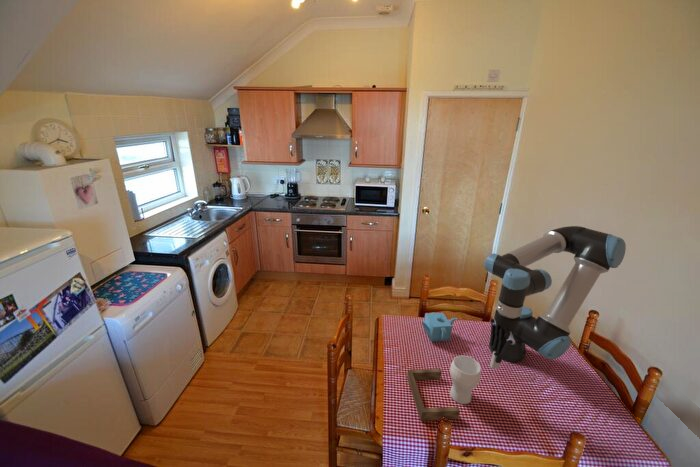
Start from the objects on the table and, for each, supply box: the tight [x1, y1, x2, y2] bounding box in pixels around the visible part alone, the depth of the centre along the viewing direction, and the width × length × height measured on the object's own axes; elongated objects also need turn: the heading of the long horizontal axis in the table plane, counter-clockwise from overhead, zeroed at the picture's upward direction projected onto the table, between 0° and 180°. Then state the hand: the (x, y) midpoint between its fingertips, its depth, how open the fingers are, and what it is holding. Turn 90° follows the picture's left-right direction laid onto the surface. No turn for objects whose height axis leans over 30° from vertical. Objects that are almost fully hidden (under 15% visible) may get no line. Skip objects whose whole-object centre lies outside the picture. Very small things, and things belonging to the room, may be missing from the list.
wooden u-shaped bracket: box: [406, 368, 461, 422], centre depth 113 cm, size 14×19×4 cm
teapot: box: [420, 312, 458, 343], centre depth 145 cm, size 16×18×11 cm
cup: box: [449, 354, 482, 405], centre depth 112 cm, size 11×11×15 cm
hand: (494, 366), depth 111 cm, fingers closed
